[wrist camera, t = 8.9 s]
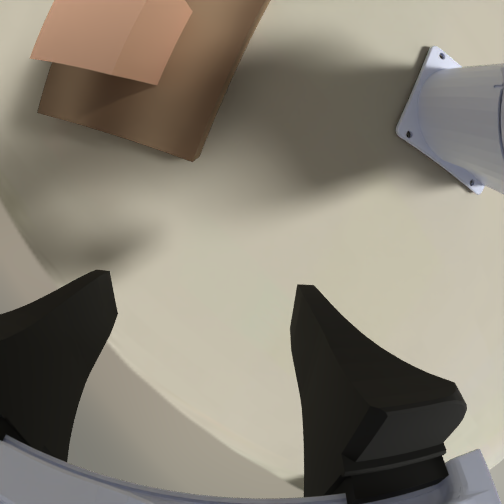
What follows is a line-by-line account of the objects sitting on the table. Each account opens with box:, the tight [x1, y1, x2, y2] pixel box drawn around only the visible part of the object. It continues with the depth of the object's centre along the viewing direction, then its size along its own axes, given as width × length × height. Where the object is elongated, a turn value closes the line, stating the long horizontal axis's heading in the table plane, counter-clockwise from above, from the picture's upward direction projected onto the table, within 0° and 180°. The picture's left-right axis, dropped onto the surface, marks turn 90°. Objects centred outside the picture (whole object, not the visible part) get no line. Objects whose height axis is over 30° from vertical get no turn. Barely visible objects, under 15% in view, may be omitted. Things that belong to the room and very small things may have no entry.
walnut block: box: [37, 0, 270, 162], centre depth 15 cm, size 12×12×3 cm
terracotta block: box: [30, 0, 193, 85], centre depth 11 cm, size 5×5×6 cm
